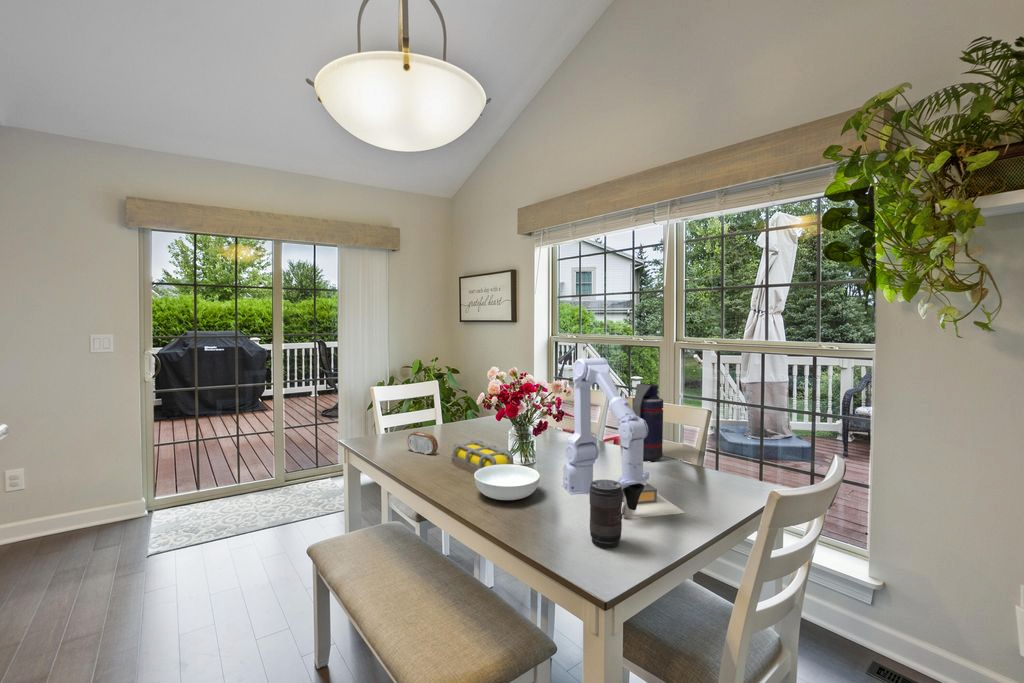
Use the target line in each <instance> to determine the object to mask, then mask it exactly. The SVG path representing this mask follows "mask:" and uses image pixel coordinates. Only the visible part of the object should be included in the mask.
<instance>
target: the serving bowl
mask: <svg viewBox="0 0 1024 683" xmlns="http://www.w3.org/2000/svg"><path fill="white" fill-rule="evenodd" d="M473 477H474V482H475V485H476V487H477V489H478V490H479V492H480V493H482V494H483V495H484V496H486V497H488V498H490V499H494V500H499V501H515V500H520V499H524V498H527V497H529V496H530V495H532V494H533V493H535V491H536V489H537V488H538V486H539V484H540V477H541V475H540V473H539V472H538V471H537V470H536V469H533V468H531V467H530V466H526V465H525V466H524V465H520V464H514V465H511V464H502V465H492V466H487V467H484V468H481V469H479V470H477V471H476V472H475V474H474V476H473Z"/></svg>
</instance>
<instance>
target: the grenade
mask: <svg viewBox="0 0 1024 683" xmlns="http://www.w3.org/2000/svg"><path fill="white" fill-rule="evenodd" d="M658 389H659V386H658V385H657V384H650V383H649V384H647V383H637V384H636V386H635V387H633V389H632V390H631V395H632V396H633V398H632V402H631V403H632V404H631V408H632V409H633V411H634V413H635V414H636V416H639V417H640V418H641V419H643V420H645V422H646V424H647V426H648V435H647V437H646V438H644V440H643V460H645V462H646V461H652V462H653V461H654V460H655V461H656V460H661V459H662V458H663V440H664V439H663V435H664V433H663V432H664V399H663V398H660V396H658ZM634 390H635V394H633V392H634ZM660 458H661V459H660Z"/></svg>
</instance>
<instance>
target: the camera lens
mask: <svg viewBox="0 0 1024 683" xmlns="http://www.w3.org/2000/svg"><path fill="white" fill-rule="evenodd" d="M589 508H590V509H589V531H590V532H589V533H590V534H589V535H590V538H591V542H592V545H594V546H595V547H597V548H601V549H607V550H608V549H609V550H610V549H614V548H617V547H618V546H619V544H620V540H621V538H622V532H623V525H622V524H623V523H622V522H623V515H622V513H621V509H622V488H621V484H620V483H619V482H617V480H612V479H596V480H593V482H591V486H590V493H589Z"/></svg>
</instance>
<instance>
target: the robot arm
mask: <svg viewBox="0 0 1024 683" xmlns="http://www.w3.org/2000/svg"><path fill="white" fill-rule="evenodd" d="M610 373H611V367H610V365H609V363H608V360H607V359H606V358H604V357H602V356H601V357H593V358H578V359H576V360H575V361H574V363H573V364H572V382H573V386H574V387H573V401H574V402H573V404H574V405H573V407H574V409H573V413H574V415H573V416H574V417H573V418H574V419H573V420H574V428H573V429H574V433H573V434H572V435H570V436H569V437H568V439H567V440H566V443H567V444H566V447H565V451H564V452H565V458H566V459H567V461H568V463H565V464H563V468H562V486H561V487H562V488H563V489H564V490H565V491H566V492H567V493H568V494H569V495H583V494H590V486H591V482H593V481H594V464H595V463H596V460H597V459H598V458H599V455H600V454H599V453H600V450H599V447H598V439H597V438H596V436H594V435H593V434H592V422H591V420H592V416H591V415H592V413H591V412H592V410H591V409H592V408H591V407H592V406H591V401H592V400H591V398H592V397H591V396H592V395H591V394H592V393H591V387H592V385H594V383H596V384H597V385H598V387H599V388H600V389H601V391H602V392H603V393H604V395H605V397H606V398H607V400H608V401H609V405H608V409H609V411H610V412H611V414H612V416H613V418H614V419H615V421H616V423H617V425H618V427H619V428H617V433H618V436H619V438H620V445H621V446H622V452H621V453H622V455H621V456H622V459H621V461H622V462H621V464H622V465H621V466H622V467H621V473H622V474H621V476H620V478H619V479H617V480H616V482H619V483H620V484H621V488H622V490H623V492H624V494H625V497H626V501H627V505H628V508H629V509H631V510H636V507H637V504H638V500H639V497H640V495H641V492H642V491H643V489H644V485H643V484H644V483H647V480H649V479H650V472H649V471H645V470H644V459H643V440H644V438H646V437H647V435H648V426H647V424H646V422H645V420H643V419H641V418H640V417H639V416H636V414H635V413H634V411H633V409H632V405H631V404H630V402H629V401H628V399H627V398H626V397H622V396H621V394H620V392H619V391H618V389H617V387H616V384H615V383H614V380H613V378H612V376H611V374H610ZM640 483H641V484H640Z"/></svg>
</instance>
